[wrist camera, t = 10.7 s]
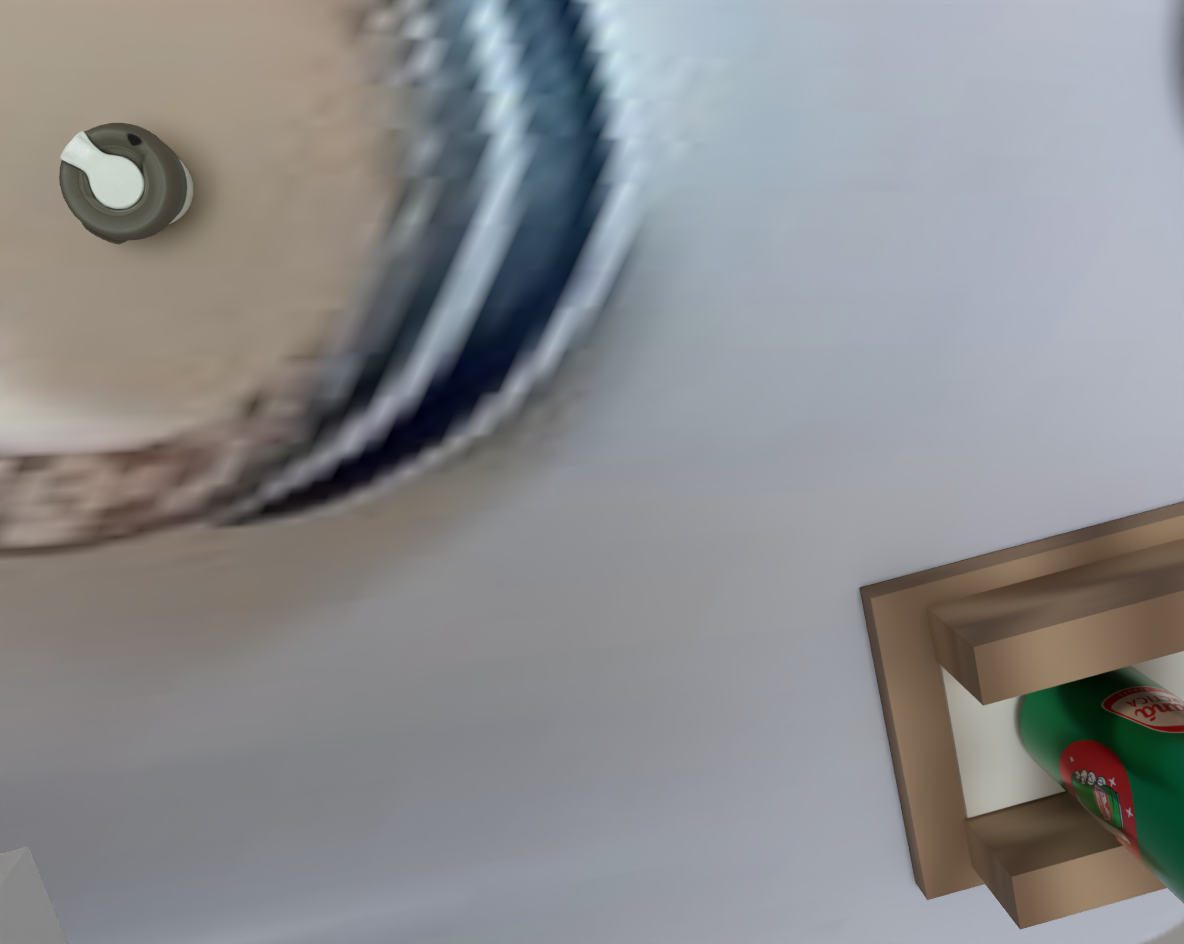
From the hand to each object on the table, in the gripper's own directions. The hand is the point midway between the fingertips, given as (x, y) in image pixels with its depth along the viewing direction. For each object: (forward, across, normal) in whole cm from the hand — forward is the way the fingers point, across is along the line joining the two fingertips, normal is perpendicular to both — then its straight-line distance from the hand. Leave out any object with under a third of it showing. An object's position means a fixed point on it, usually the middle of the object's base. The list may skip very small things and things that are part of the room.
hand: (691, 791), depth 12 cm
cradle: (+29, +18, -17) cm, 38 cm away
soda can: (+28, +17, -17) cm, 37 cm away
